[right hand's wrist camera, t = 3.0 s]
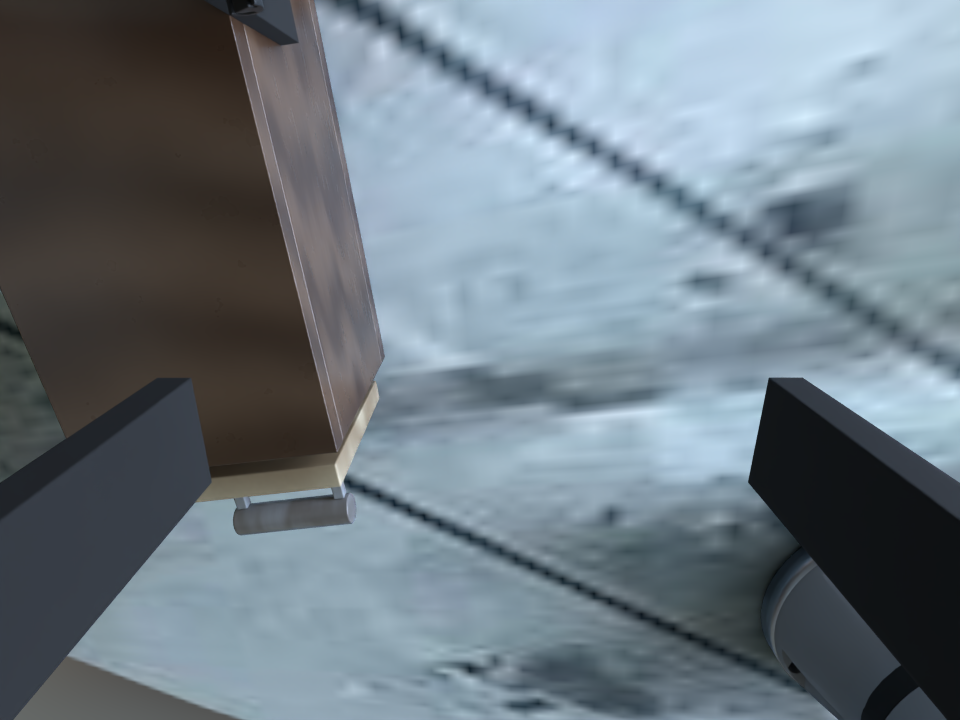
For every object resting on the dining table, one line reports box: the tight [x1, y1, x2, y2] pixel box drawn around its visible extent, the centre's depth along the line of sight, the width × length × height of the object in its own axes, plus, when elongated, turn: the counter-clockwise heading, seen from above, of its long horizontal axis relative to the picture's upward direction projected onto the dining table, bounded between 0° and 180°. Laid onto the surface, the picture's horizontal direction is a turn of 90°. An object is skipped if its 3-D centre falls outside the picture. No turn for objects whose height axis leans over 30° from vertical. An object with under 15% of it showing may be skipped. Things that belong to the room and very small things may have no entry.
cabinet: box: [0, 0, 385, 467], centre depth 25 cm, size 22×11×12 cm, turn 7°
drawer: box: [196, 381, 379, 535], centre depth 27 cm, size 26×10×10 cm, turn 7°
